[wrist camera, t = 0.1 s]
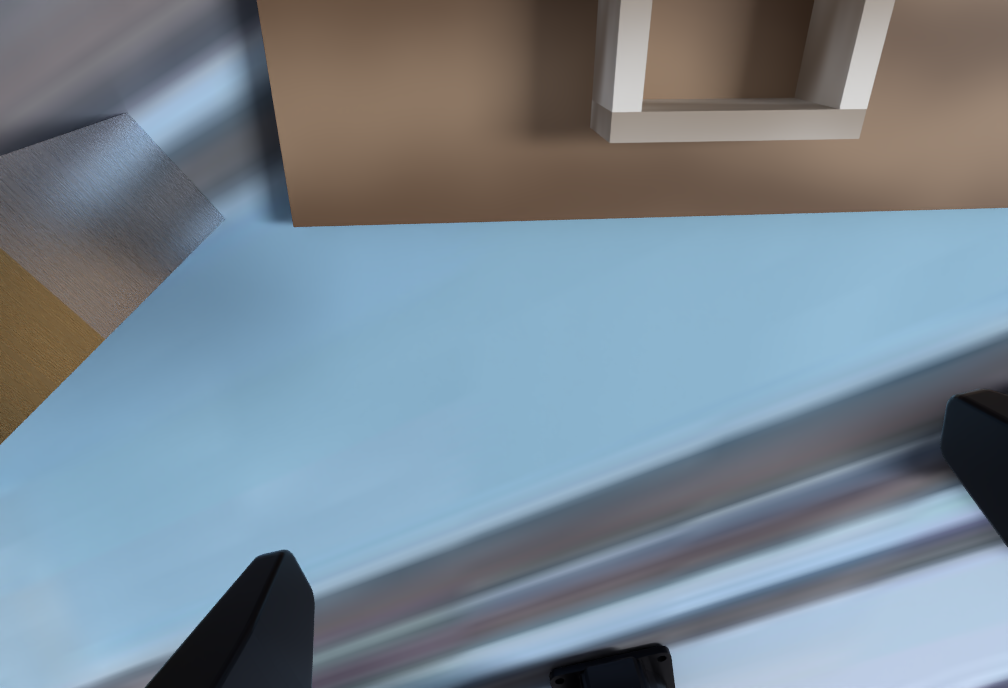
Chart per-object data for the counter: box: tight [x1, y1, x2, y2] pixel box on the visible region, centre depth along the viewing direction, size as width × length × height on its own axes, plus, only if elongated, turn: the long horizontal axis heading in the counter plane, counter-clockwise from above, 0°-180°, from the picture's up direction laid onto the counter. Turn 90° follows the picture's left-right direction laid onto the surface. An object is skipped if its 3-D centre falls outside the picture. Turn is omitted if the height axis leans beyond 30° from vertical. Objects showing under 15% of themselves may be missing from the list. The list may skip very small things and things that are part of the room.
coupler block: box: [0, 113, 225, 444], centre depth 14 cm, size 4×4×13 cm
